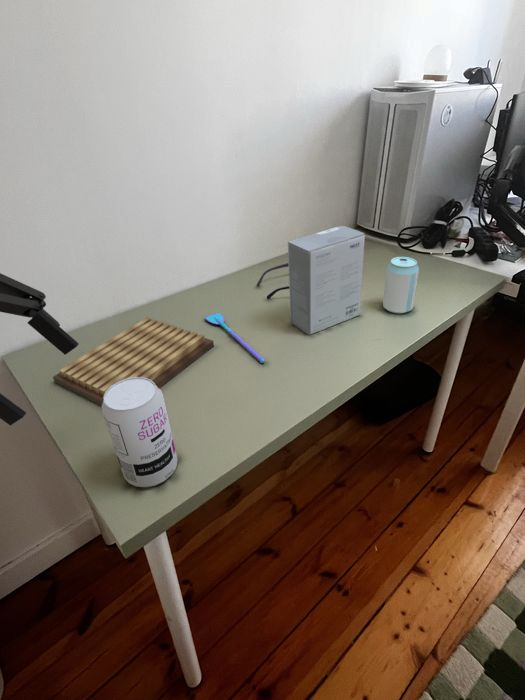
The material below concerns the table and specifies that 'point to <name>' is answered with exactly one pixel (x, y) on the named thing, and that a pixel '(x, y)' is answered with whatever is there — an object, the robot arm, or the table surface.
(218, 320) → the spoon
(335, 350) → the table surface
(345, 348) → the table surface
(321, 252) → the hard drive box
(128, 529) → the table surface
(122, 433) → the supplement can
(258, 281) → the sunglasses
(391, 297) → the can
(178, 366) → the scrub board
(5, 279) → the robot arm
